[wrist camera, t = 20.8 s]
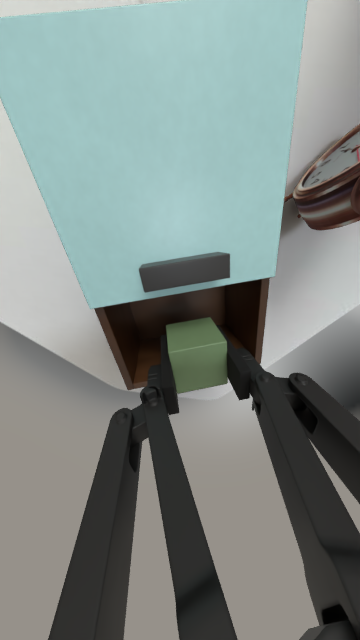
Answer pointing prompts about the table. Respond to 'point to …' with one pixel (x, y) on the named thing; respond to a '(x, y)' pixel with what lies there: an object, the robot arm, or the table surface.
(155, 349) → the case
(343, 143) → the alarm clock
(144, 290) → the light blue board
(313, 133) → the table surface
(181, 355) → the block
